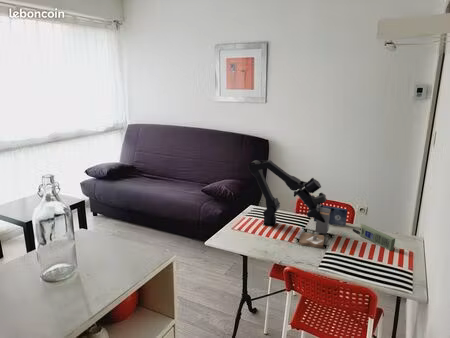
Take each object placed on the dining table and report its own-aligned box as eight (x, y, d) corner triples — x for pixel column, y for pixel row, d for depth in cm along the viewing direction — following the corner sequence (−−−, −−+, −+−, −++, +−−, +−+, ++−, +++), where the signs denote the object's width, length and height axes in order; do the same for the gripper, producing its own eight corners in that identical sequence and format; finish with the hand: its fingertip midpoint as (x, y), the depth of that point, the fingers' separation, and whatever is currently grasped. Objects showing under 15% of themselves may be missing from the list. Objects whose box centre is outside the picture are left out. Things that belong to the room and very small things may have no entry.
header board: (298, 244, 175) (299, 237, 174) (301, 234, 186) (301, 227, 185) (322, 248, 171) (323, 240, 170) (324, 238, 182) (324, 231, 181)
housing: (315, 231, 186) (317, 210, 183) (317, 227, 191) (319, 207, 188) (326, 234, 183) (328, 212, 180) (328, 230, 189) (330, 209, 186)
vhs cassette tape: (346, 224, 200) (347, 209, 197) (345, 226, 197) (347, 210, 194) (314, 219, 207) (315, 204, 205) (313, 221, 205) (314, 205, 202)
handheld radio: (390, 251, 169) (350, 232, 190) (394, 250, 170) (354, 231, 191) (392, 239, 167) (352, 221, 188) (396, 238, 169) (356, 220, 190)
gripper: (314, 194, 175) (335, 218, 173) (321, 184, 191) (339, 206, 189) (298, 206, 180) (318, 229, 178) (306, 196, 196) (324, 217, 195)
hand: (325, 220), depth 185 cm, fingers closed on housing, 6 cm apart
